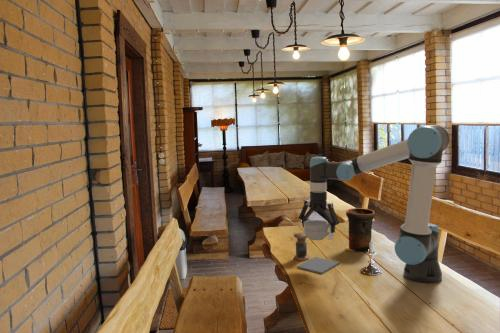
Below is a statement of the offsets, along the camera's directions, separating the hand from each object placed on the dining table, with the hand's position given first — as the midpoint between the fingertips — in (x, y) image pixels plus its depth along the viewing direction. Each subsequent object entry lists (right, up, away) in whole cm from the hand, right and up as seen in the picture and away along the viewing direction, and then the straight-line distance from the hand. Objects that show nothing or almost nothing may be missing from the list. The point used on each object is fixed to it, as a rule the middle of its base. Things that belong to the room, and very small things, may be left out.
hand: (318, 237), depth 195 cm
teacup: (+1, -1, 0) cm, 1 cm away
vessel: (+26, -10, +26) cm, 38 cm away
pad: (0, -14, +2) cm, 14 cm away
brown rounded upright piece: (-6, -12, +12) cm, 19 cm away
